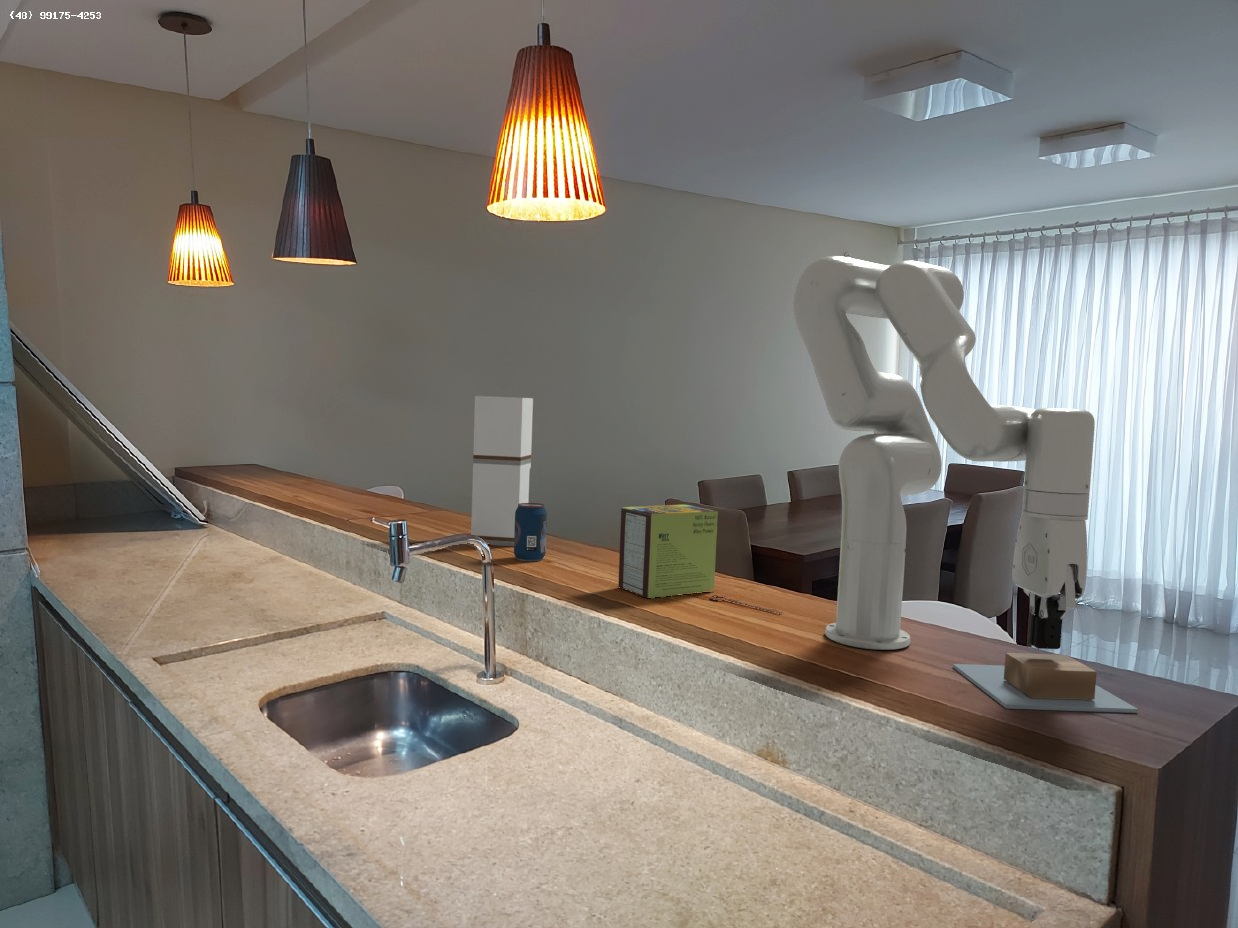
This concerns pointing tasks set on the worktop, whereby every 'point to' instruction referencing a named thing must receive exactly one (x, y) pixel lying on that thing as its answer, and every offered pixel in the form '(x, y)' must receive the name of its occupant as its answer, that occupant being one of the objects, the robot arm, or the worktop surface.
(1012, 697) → the rubber mat
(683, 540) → the protein box
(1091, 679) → the wooden block
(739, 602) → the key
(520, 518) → the soda can
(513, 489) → the banded white tower
